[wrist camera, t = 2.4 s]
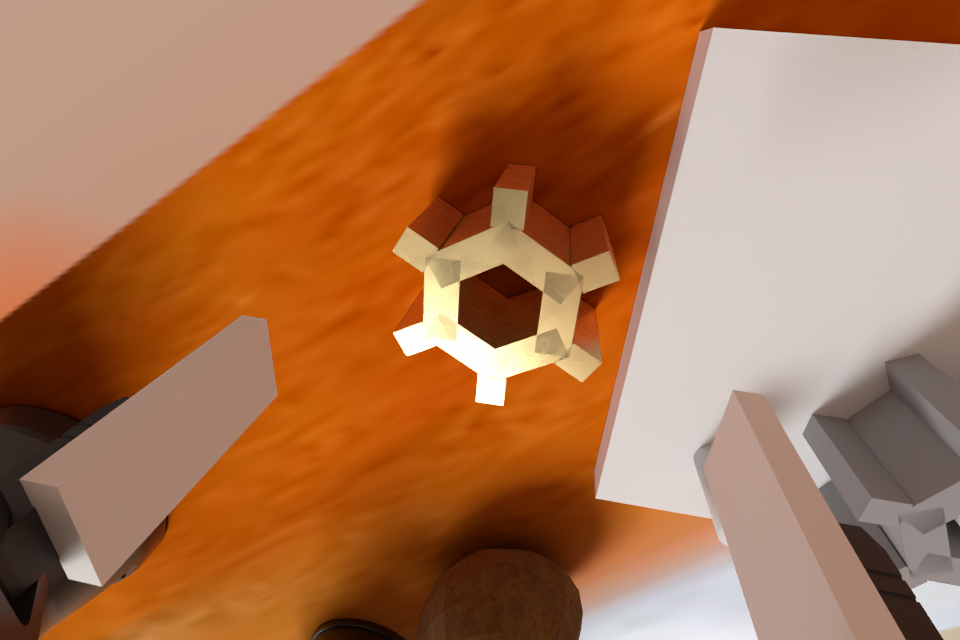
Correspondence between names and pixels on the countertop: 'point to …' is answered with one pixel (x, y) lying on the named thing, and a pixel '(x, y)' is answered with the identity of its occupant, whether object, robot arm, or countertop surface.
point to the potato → (502, 600)
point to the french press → (353, 631)
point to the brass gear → (488, 314)
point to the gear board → (806, 286)
